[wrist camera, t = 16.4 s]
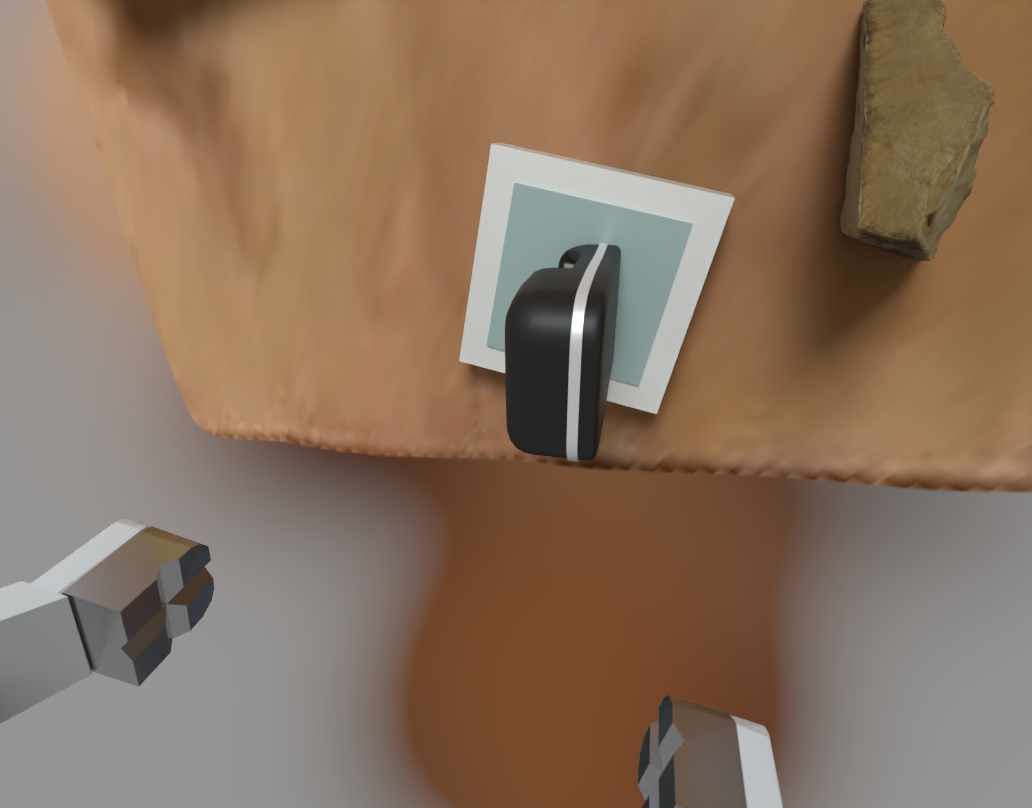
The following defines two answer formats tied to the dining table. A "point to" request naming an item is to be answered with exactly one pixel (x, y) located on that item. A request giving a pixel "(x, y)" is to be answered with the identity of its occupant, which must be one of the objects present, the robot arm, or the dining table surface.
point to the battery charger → (562, 353)
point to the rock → (911, 129)
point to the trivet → (593, 220)
